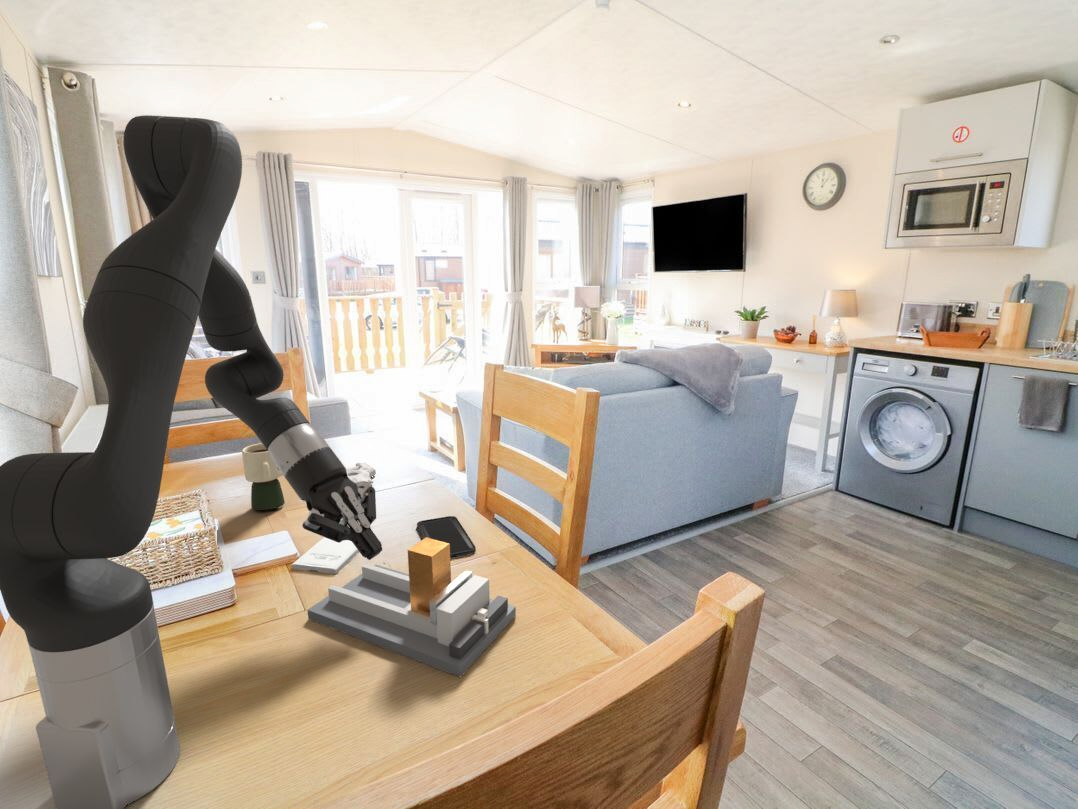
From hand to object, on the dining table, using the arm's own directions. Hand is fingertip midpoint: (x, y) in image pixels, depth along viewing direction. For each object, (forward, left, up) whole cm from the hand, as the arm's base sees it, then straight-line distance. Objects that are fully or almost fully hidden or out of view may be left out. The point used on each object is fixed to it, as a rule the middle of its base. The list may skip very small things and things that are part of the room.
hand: (376, 554), depth 82 cm
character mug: (+31, +36, -9) cm, 49 cm away
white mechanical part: (+47, +24, -9) cm, 54 cm away
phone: (+22, -4, -9) cm, 24 cm away
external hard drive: (+15, +14, -9) cm, 23 cm away
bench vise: (-2, -6, -9) cm, 10 cm away
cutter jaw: (-3, -9, -7) cm, 12 cm away
